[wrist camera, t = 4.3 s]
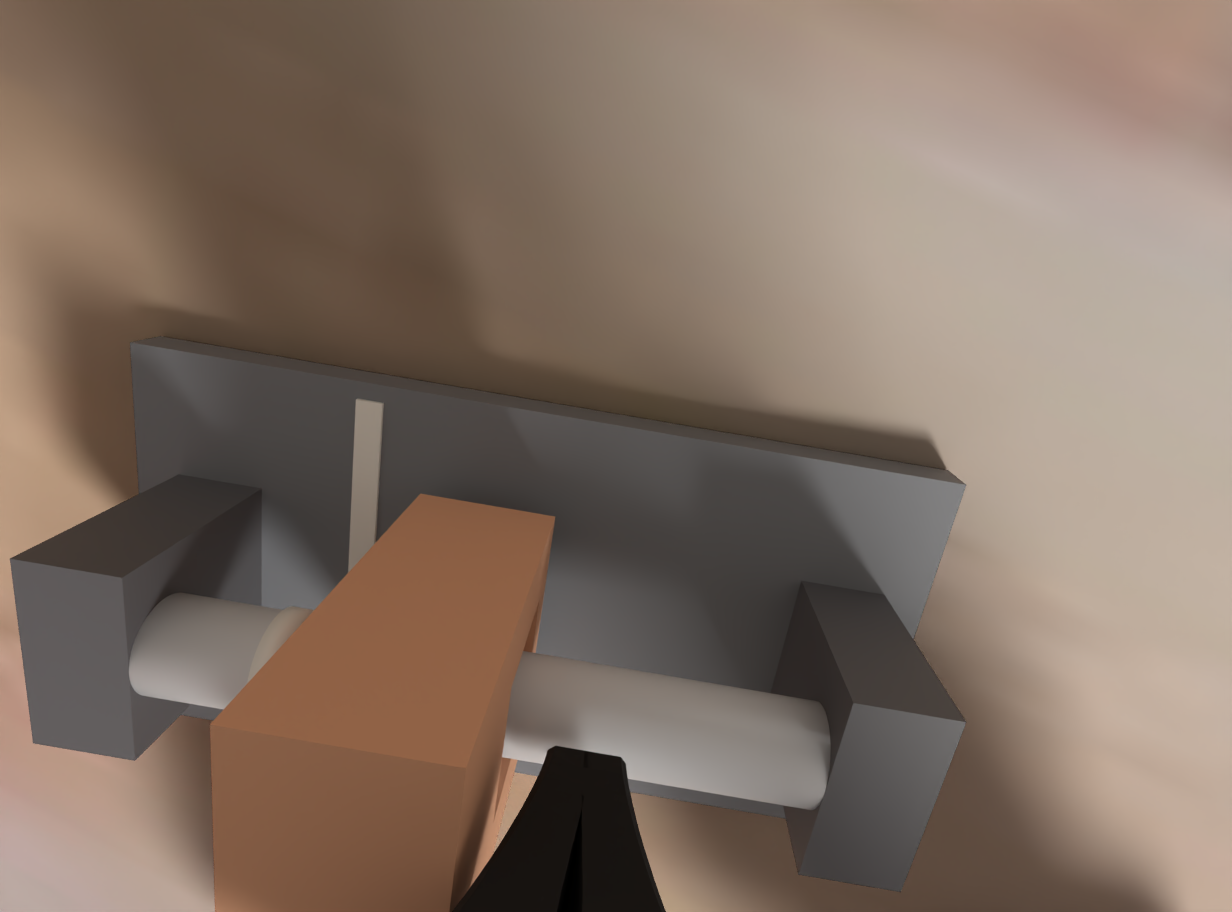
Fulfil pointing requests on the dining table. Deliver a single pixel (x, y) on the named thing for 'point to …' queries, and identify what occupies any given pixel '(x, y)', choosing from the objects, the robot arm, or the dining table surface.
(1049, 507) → the dining table surface
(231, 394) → the pipe stand
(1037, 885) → the dining table surface
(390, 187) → the dining table surface
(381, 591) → the collar
